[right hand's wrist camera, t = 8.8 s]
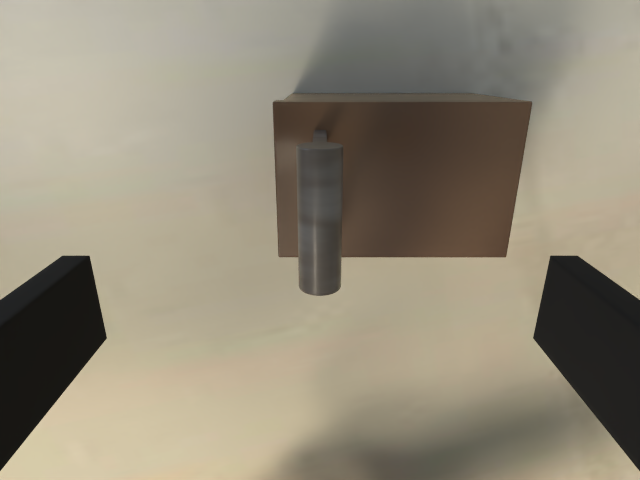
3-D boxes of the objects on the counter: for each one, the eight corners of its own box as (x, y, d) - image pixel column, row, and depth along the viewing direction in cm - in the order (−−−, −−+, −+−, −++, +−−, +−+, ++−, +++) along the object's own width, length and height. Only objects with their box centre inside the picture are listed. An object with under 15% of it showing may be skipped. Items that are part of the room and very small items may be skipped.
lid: (280, 249, 28) (263, 321, 20) (274, 100, 25) (252, 114, 17) (498, 249, 28) (571, 321, 20) (522, 100, 25) (621, 114, 17)
